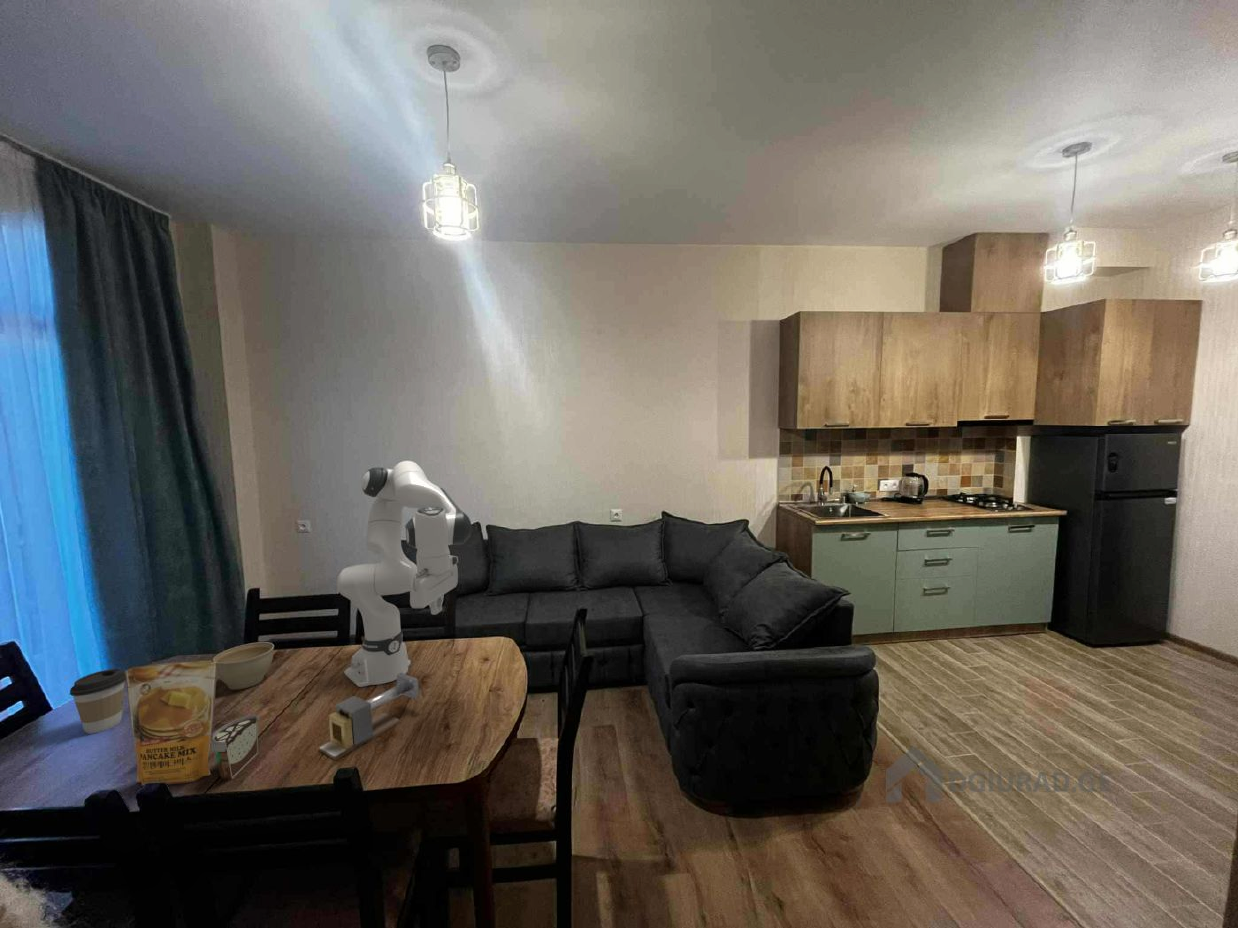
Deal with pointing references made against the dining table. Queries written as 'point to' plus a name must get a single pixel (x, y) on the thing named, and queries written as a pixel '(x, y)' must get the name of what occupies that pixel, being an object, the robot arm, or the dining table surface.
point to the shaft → (397, 691)
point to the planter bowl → (244, 664)
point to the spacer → (346, 729)
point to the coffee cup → (99, 699)
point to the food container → (236, 745)
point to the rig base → (378, 726)
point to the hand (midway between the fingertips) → (436, 612)
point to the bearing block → (357, 718)
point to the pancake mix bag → (172, 719)
